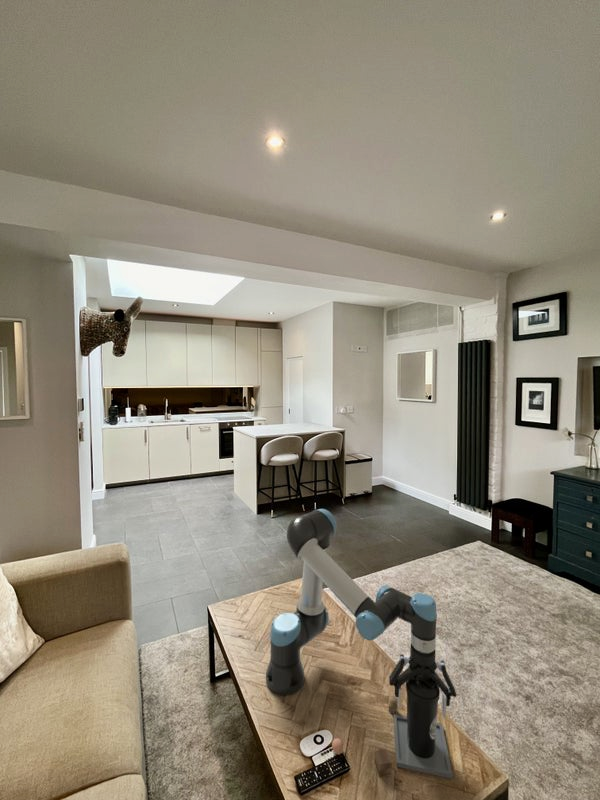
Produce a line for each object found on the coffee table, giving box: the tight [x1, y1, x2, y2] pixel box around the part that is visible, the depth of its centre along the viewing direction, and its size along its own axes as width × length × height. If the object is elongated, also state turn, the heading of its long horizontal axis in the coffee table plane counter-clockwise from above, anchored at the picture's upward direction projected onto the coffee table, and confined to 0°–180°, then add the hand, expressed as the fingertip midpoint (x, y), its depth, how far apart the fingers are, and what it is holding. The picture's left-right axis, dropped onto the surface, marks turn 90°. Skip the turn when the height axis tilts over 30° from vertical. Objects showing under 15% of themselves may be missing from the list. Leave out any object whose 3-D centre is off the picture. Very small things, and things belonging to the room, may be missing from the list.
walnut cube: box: [374, 748, 393, 778], centre depth 105 cm, size 4×4×4 cm
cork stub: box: [388, 695, 398, 716], centre depth 124 cm, size 3×3×4 cm
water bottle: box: [405, 674, 441, 758], centre depth 112 cm, size 10×10×23 cm
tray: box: [392, 714, 454, 780], centre depth 112 cm, size 16×16×1 cm
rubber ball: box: [331, 737, 344, 755], centre depth 110 cm, size 4×4×4 cm
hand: (421, 709), depth 112 cm, fingers open, 13 cm apart
